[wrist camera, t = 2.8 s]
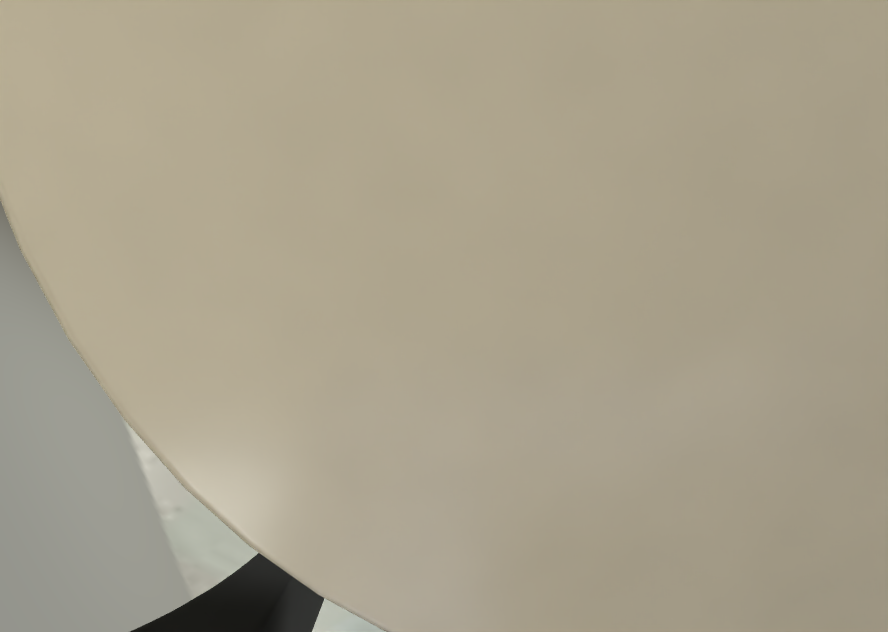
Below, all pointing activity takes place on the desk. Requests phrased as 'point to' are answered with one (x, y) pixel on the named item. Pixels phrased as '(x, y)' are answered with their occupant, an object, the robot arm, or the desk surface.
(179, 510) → the desk surface
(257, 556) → the robot arm
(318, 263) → the lamp
